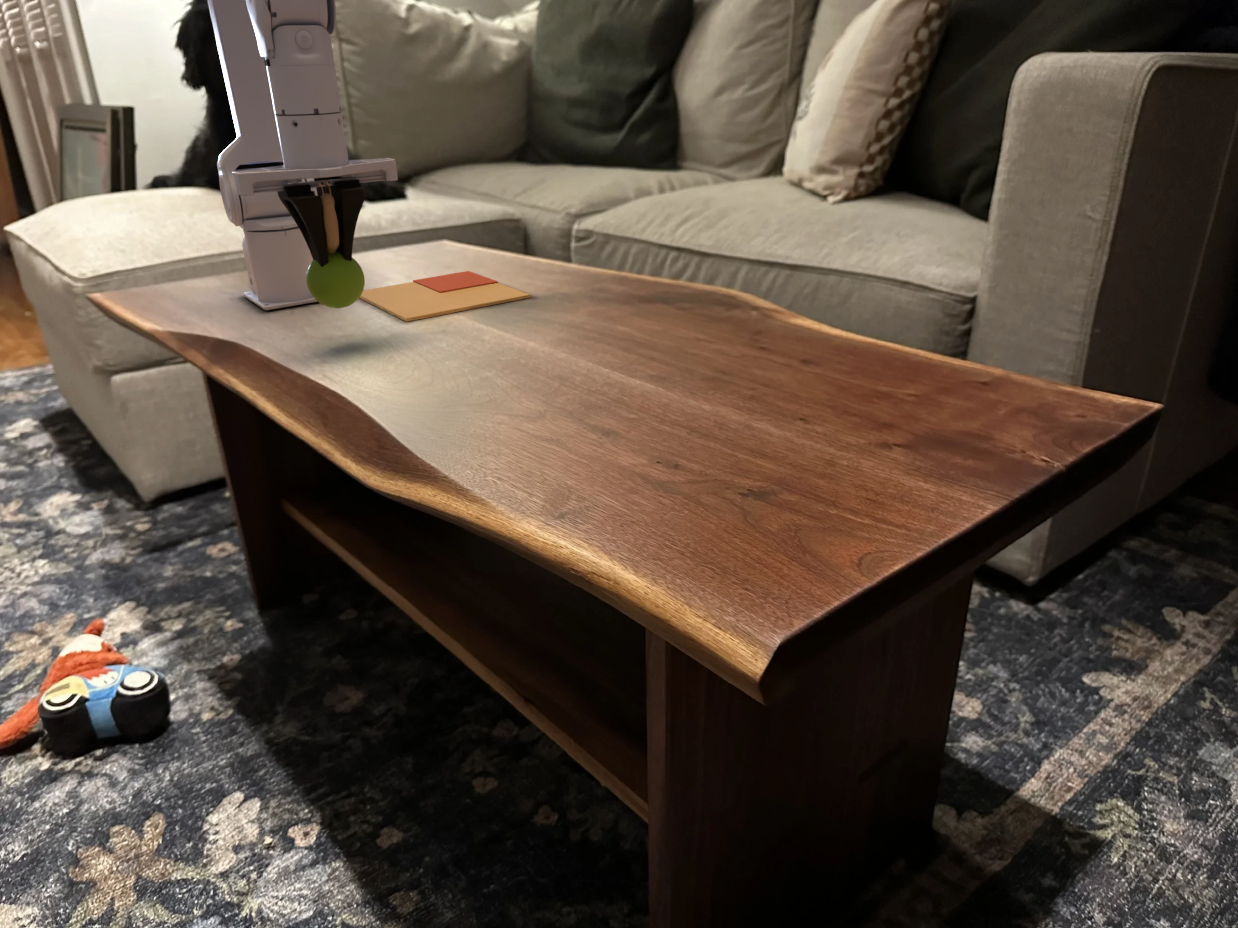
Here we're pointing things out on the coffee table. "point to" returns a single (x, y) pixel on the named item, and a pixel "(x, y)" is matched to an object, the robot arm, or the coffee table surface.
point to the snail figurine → (334, 264)
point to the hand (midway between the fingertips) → (333, 265)
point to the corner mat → (440, 295)
